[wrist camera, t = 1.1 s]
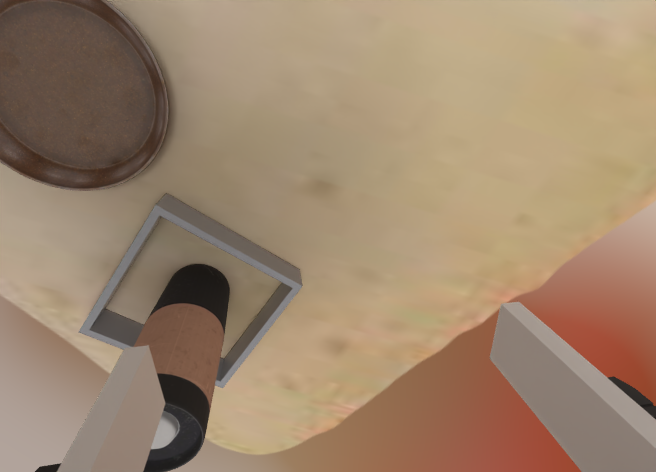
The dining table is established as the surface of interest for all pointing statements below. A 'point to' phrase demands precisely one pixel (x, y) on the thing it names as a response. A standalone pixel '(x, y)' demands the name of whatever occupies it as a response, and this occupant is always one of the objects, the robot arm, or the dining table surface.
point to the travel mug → (185, 360)
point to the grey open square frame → (127, 331)
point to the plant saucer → (77, 94)
